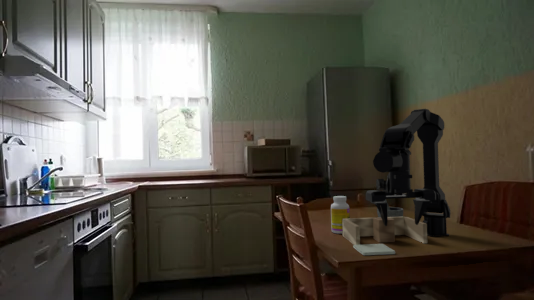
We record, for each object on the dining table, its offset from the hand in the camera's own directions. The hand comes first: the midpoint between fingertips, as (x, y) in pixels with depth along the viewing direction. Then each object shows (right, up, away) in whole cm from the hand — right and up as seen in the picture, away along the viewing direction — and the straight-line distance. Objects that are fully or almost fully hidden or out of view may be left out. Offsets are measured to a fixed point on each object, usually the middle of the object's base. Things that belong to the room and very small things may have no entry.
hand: (401, 225), depth 106 cm
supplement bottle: (-12, -8, +27) cm, 31 cm away
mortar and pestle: (+8, -8, +36) cm, 37 cm away
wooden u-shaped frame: (-1, -7, +13) cm, 15 cm away
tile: (-8, -7, 0) cm, 11 cm away
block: (-1, -8, +13) cm, 15 cm away
